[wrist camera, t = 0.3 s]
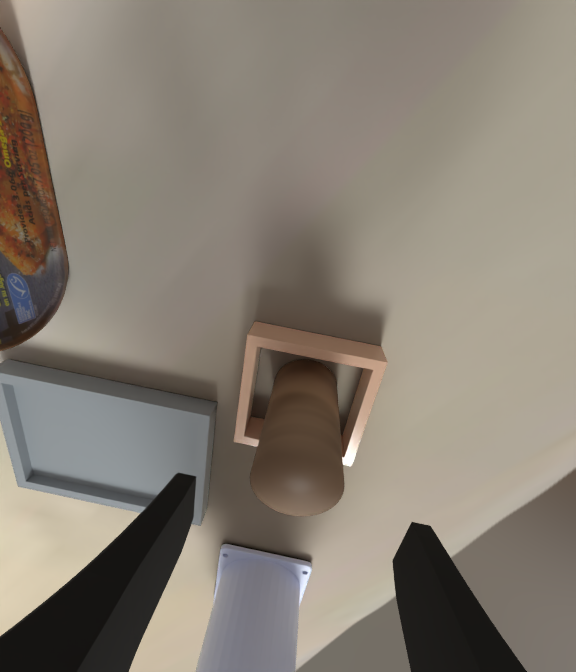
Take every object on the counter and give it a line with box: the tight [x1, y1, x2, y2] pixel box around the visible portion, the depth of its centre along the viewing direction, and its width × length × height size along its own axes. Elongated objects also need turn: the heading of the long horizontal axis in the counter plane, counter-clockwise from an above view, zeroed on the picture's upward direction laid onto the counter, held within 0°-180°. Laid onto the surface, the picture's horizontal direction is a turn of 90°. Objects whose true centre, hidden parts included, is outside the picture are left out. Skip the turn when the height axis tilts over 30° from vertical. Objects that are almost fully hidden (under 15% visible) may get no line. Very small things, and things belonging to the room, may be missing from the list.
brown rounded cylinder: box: [250, 359, 344, 516], centre depth 17 cm, size 4×4×8 cm
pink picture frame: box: [234, 321, 388, 466], centre depth 19 cm, size 8×8×2 cm
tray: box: [0, 359, 217, 526], centre depth 23 cm, size 11×15×2 cm
